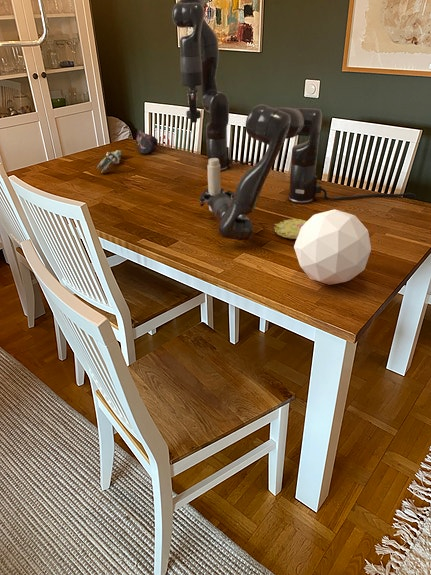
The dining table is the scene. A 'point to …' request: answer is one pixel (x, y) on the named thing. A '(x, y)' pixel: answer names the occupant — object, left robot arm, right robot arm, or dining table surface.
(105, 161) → the figurine
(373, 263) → the dining table surface
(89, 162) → the dining table surface
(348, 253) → the sphere
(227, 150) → the left robot arm
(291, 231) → the decorative object
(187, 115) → the lid
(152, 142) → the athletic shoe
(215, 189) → the bottle
